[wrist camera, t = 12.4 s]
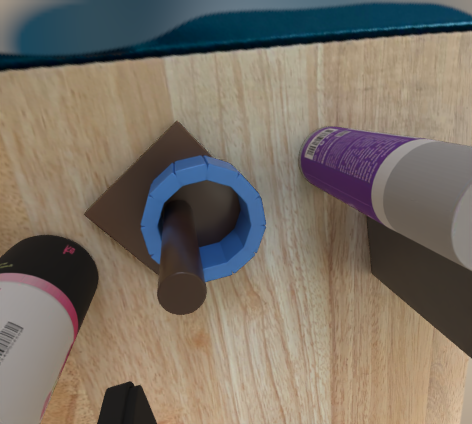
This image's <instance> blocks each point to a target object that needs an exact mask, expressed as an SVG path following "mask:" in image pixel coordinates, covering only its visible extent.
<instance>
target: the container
mask: <svg viewBox="0 0 472 424" xmlns="http://www.w3.org/2000/svg"><path fill="white" fill-rule="evenodd" d="M299 167H300V170H301V173H302V175H303V176H304V177H305V179H306V180H307V181H309V182H310V183H311V184H313V185H315V186H316V187H318V188H320V189H322V190H323V191H325V192H327V193H329V194H330V195H332V196H334V197H336V198H337V199H339V200H341V201H343V202H344V203H346V204H348V205H349V206H351V207H353V208H355V209H356V210H358V211H360V212H362V213H363V214H365V215H367V216H369V217H370V218H372V219H374V220H376V221H377V222H379V223H381V224H383V225H384V226H386V227H388V228H390V229H392V230H394V231H396V232H398V233H400V234H402V235H404V236H405V237H407V238H409V239H411V240H413V241H415V242H417V243H419V244H421V245H423V246H425V247H427V248H428V249H430V250H432V251H434V252H436V253H438V254H440V255H442V256H444V257H446V258H448V259H450V260H451V261H453V262H455V263H457V264H459V265H461V266H463V267H465V268H467V269H469V270H471V271H472V147H471V146H466V145H460V144H454V143H448V142H443V141H437V140H432V139H425V138H417V137H410V136H402V135H395V134H387V133H379V132H372V131H364V130H357V129H349V128H341V127H332V126H328V127H323V128H320V129H317V130H316V131H314V132H313V133H311V134H310V135H309V136H308V137H307V138H306V140H305V141H304V143H303V144H302V147H301V149H300V152H299Z"/></svg>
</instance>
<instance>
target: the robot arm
mask: <svg viewBox="0 0 472 424" xmlns="http://www.w3.org/2000/svg"><path fill="white" fill-rule="evenodd" d="M97 424H157V422H156V420H155V418H154V415H153V413H152V410H151V408H150V405H149V403H148V400H147V398H146V396H145V393H144V391H143V388H142V386H141V385H138V386H134V384H133V383H132V382H126V383H123V384H120V385H116V386H113V387H110V388H108V389H107V390H106V392H105V396H104V399H103V403H102V407H101V411H100V415H99V419H98V423H97Z"/></svg>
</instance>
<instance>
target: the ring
mask: <svg viewBox="0 0 472 424" xmlns="http://www.w3.org/2000/svg"><path fill="white" fill-rule="evenodd" d="M205 180H208V181H212V182H215V183H219V184H222V185H226V186H229V187H231V188H232V189H233V190H234V191H235V192H236V193H237V195H238V199H239V204H240V209H241V210H240V213H239V216H238V219H237V222H236V225H235V228H234V229H233V230H232V231H231V232H230V233H229V234H228V235H227V236H226V237H225V238H223V239H222V240H221V241H220V242H218V243H214V244H210V245H206V246H203V247H199V251H200V256H201V262H202V267H203V273H204V278H205V282H208V281H211V280H215V279H219V278H222V277H226V276H230V275H232V272H233V273H236V272H237V271H238V270H239V269H240V268H241V267H242V266H244V265H245V264H246V263H247V262H248V261H249V260H250V259H251V258H252V257H254V256H255V253H257V251H258V248H259V245H260V242H261V240H262V237H263V234H264V231H265V229H266V226H265V225H266V220H265V215H264V210H263V204H262V199H261V197H260V196H259V193H258V192H257V191H256V190H255V189H254V188H253V187H252V185H251V184H250V183H249V182H248V181H247V180H246V179H245V178H244V177H243V176H242V175H241V173H240V172H239V171H238V170H237V169H236V168H235V167H234V166H233V165H230V163H228V162H225V161H221V160H218V159H215V158H212V157H208V156H205V155H204V156H203V157H202V156H201V155H200V156H195V157H191V158H187V159H182V160H178V161H175V164H174V163H171V164H170V165H169V166H168V167H167V168H166V169H165V170H164V171H163V172H162V173H161V174H160V175H159V176H158V177H157V178H156V179H154V180H153V183H152V184H151V187H150V190H149V194H148V198H147V202H146V205H145V209H144V213H143V217H142V220H141V231H142V234H143V237H144V240H145V244H146V247H147V250H148V253H149V255H151V258H152V259H153V260H155V261H156V262H157V263H158V264H159V265H160V255H161V243H162V231H163V219H162V216H161V212H162V209H163V205H164V203H165V202H166V201H167V200H168V199H169V198H170V197H171V196H172V195H173V194H174V193H175V192H177V191H178V190H179V189H180V188H181V187H182V186H185V185H189V184H193V183H197V182H201V181H205ZM254 252H255V253H254Z"/></svg>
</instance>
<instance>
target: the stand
mask: <svg viewBox="0 0 472 424" xmlns="http://www.w3.org/2000/svg"><path fill="white" fill-rule="evenodd" d="M200 155H201V156H202V157H203V156H204V155H205V156H208V157H212V156H211V155H210V154H209V153H208V152H207V151H206V150H205V149H204V148H203V147H202V146H201V145H200V144H199V143H198V141H197V140H196V139H195V138H194V137H193V136H192V135H191V134H190V133H189V132H188V131H187V130H186V129H185V128H184V127H183V126H182V125H181V124H180V123H179V122H178V121H176V122H175V123H174V124H173V125H172V126H171V127H170V128H169V129H168V130H167V131H166V132H165V133H164V134H163V135H162V136H161V137H160V138H159V139H158V140H157V141H156V142H155V143H154V144H153V145H152V146H151V147H150V148H149V149H148V150H147V151H146V152H145V153H144V154H143V155H142V156H141V157H140V158H139V159H138V160H137V161H136V162H135V163H134V164H133V165H132V166H131V167H130V168H129V169H128V170H127V171H126V172H125V173H124V174H123V175H122V176H121V177H120V178H119V179H118V180H117V181H116V182H115V183H114V184H113V185H112V186H111V187H110V188H109V189H108V190H107V191H106V192H105V193H104V194H103V195H102V196H101V197H100V198H99V199H98V200H97V201H96V202H95V203H94V204H93V205H92V206H91V207H90V208H89V209H88V210H87V211H86V212H85V213H84V215H85V216H86V217H87V218H89V219H90V220H91V221H92V222H94V223H95V224H96V225H97V226H99V227H100V228H101V229H102V230H103V231H105V232H106V233H107V234H108V235H110V236H111V237H112V238H113V239H115V240H116V241H117V242H118V243H119V244H121V245H122V246H123V247H124V248H126V249H127V250H128V251H129V252H131V253H132V254H133V255H134V256H135V257H137V258H138V259H139V260H140V261H142V262H143V263H144V264H145V265H147V266H148V267H149V268H150V269H152V270H153V271H154V272H155V273H156V274H158V275H159V279H158V291H157V297H158V301H159V303H160V305H161V306H162V307H163V308H164V309H165V310H166V311H168V312H170V313H173V314H177V315H184V314H189V313H192V312H194V311H195V310H197V309H198V308H199V307H200V306H201V305H202V304H203V302H204V300H205V298H206V294H207V289H206V284H205V278H204V273H203V267H202V262H201V256H200V251H199V247H203V246H206V245H210V244H214V243H218V242H220V241H221V240H222V239H223V238H225V237H226V236H227V235H228V234H229V233H230V232H231V231H232V230H233V229H234V228H235V225H236V222H237V219H238V216H239V213H240V210H241V209H240V204H239V199H238V195H237V193H236V192H235V191H234V190H233V189H232V188H231V187H229V186H226V185H222V184H219V183H215V182H212V181H208V180H205V181H201V182H197V183H193V184H189V185H185V186H182V187H181V188H180V189H179V190H178V191H177V192H175V193H174V194H173V195H172V196H171V197H170V198H169V199H168V200H167V201H166V202H165V203H164V205H163V209H162V212H161V216H162V219H163V231H162V243H161V255H160V265H159V264H158V263H157V262H156V261H155V260H153V259H152V258H151V255H149V253H148V250H147V247H146V244H145V240H144V237H143V234H142V231H141V220H142V217H143V213H144V209H145V205H146V202H147V198H148V194H149V190H150V187H151V184H152V183H153V180H154V179H156V178H157V177H158V176H159V175H160V174H161V173H162V172H163V171H164V170H165V169H166V168H167V167H168V166H169V165H170V164H171V163H174V164H175V161H178V160H182V159H187V158H191V157H195V156H200ZM212 158H213V157H212Z"/></svg>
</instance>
